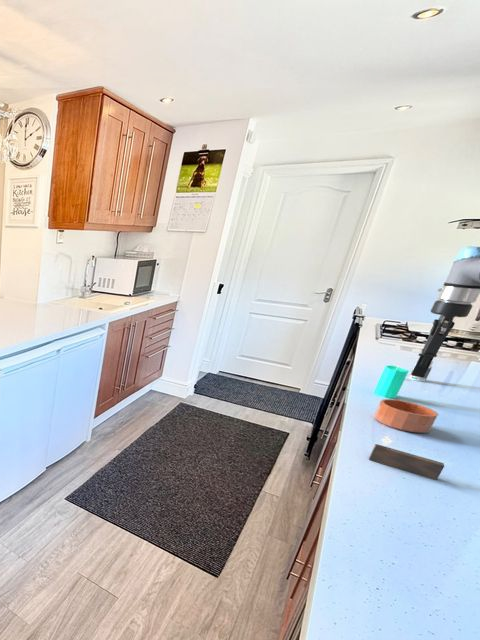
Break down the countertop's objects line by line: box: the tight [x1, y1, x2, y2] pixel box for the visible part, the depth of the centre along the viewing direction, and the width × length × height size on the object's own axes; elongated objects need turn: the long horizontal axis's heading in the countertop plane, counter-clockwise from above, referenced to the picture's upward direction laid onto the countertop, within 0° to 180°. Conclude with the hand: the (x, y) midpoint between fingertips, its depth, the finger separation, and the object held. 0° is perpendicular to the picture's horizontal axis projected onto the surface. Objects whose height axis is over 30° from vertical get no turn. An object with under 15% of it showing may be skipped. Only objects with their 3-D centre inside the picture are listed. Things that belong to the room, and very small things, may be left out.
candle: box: [373, 364, 409, 399], centre depth 145 cm, size 6×6×12 cm
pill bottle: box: [408, 360, 434, 383], centre depth 163 cm, size 5×5×8 cm
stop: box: [368, 443, 445, 481], centre depth 99 cm, size 12×2×4 cm, turn 45°
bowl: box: [373, 398, 440, 434], centre depth 123 cm, size 12×12×6 cm
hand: (417, 375), depth 127 cm, fingers closed
